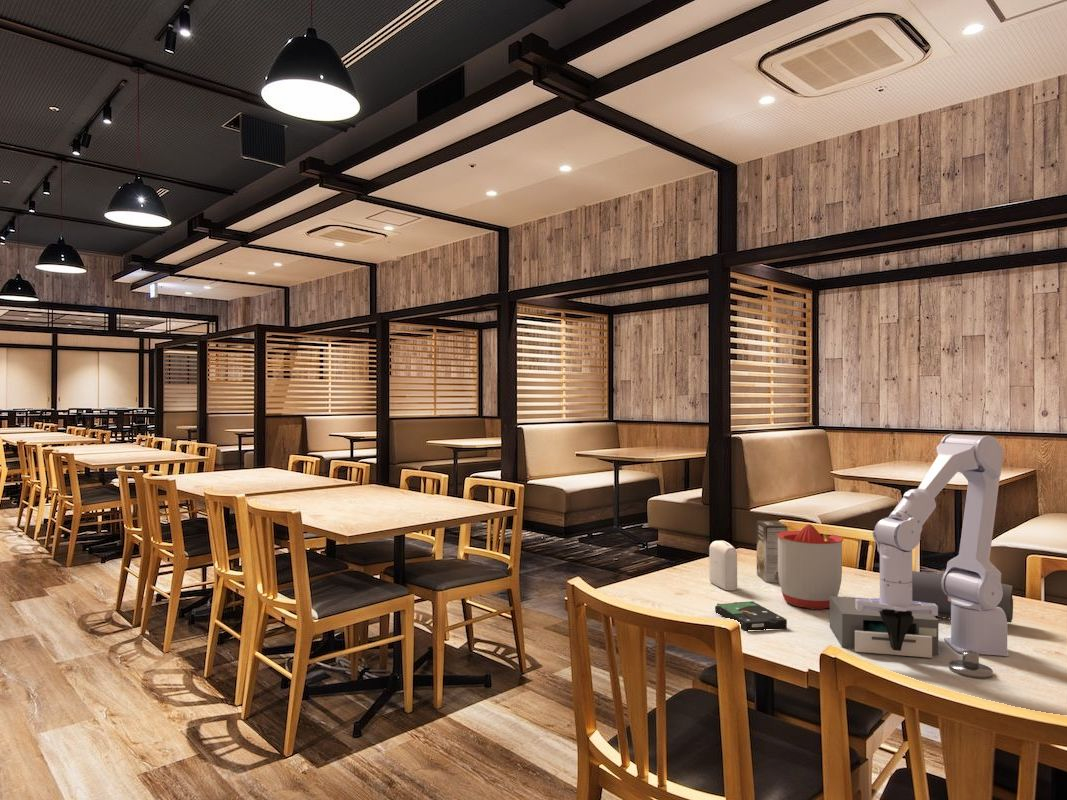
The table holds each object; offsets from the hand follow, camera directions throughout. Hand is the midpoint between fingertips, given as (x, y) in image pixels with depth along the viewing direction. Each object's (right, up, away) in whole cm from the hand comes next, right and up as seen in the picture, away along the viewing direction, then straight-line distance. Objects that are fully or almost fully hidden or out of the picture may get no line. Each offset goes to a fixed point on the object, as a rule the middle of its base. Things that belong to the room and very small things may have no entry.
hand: (895, 648), depth 137 cm
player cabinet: (+2, -2, +11) cm, 11 cm away
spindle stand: (+11, -2, -6) cm, 13 cm away
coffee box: (-3, -3, +63) cm, 63 cm away
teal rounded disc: (+2, -1, +9) cm, 10 cm away
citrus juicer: (-1, -2, +39) cm, 39 cm away
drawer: (+2, -2, +10) cm, 10 cm away
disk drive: (-21, -3, +24) cm, 32 cm away
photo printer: (-19, -2, +54) cm, 58 cm away
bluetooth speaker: (+28, -3, +27) cm, 39 cm away
